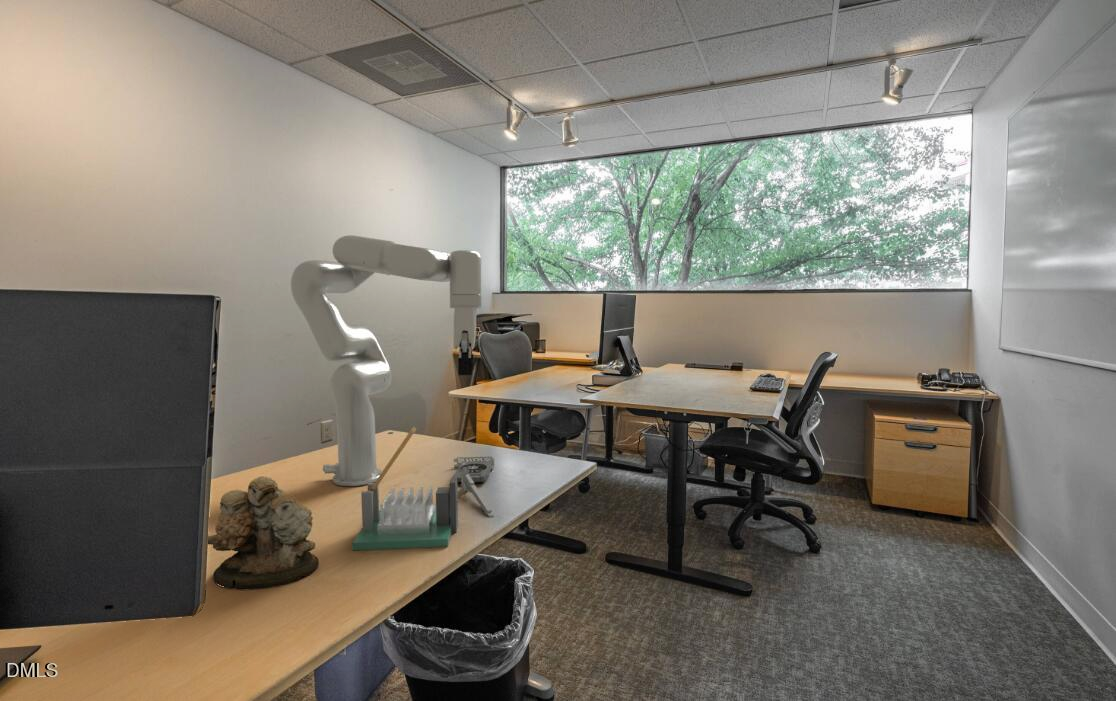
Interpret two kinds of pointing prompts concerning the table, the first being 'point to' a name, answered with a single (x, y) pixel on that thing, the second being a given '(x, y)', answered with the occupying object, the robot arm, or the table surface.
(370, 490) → the strap
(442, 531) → the motherboard
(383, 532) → the heat sink
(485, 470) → the graphics card
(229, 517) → the owl figurine
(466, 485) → the caliper
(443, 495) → the lug
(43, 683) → the table surface
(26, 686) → the table surface
